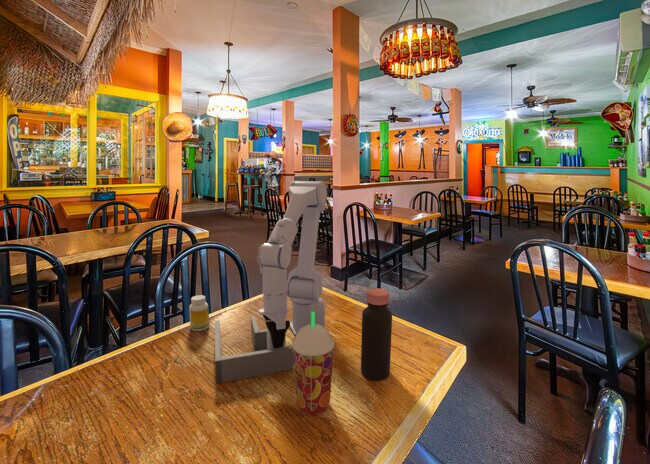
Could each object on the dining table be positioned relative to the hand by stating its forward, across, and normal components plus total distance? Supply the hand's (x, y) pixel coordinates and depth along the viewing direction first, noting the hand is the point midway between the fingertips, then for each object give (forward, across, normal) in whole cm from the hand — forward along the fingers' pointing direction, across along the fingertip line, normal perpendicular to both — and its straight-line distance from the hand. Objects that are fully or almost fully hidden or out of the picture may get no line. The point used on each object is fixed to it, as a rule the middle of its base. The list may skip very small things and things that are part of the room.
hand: (276, 343), depth 82 cm
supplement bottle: (+4, -24, -19) cm, 31 cm away
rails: (+4, -5, -6) cm, 9 cm away
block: (+2, 0, 0) cm, 2 cm away
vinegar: (+4, +13, +21) cm, 25 cm away
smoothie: (+4, +19, +4) cm, 20 cm away
